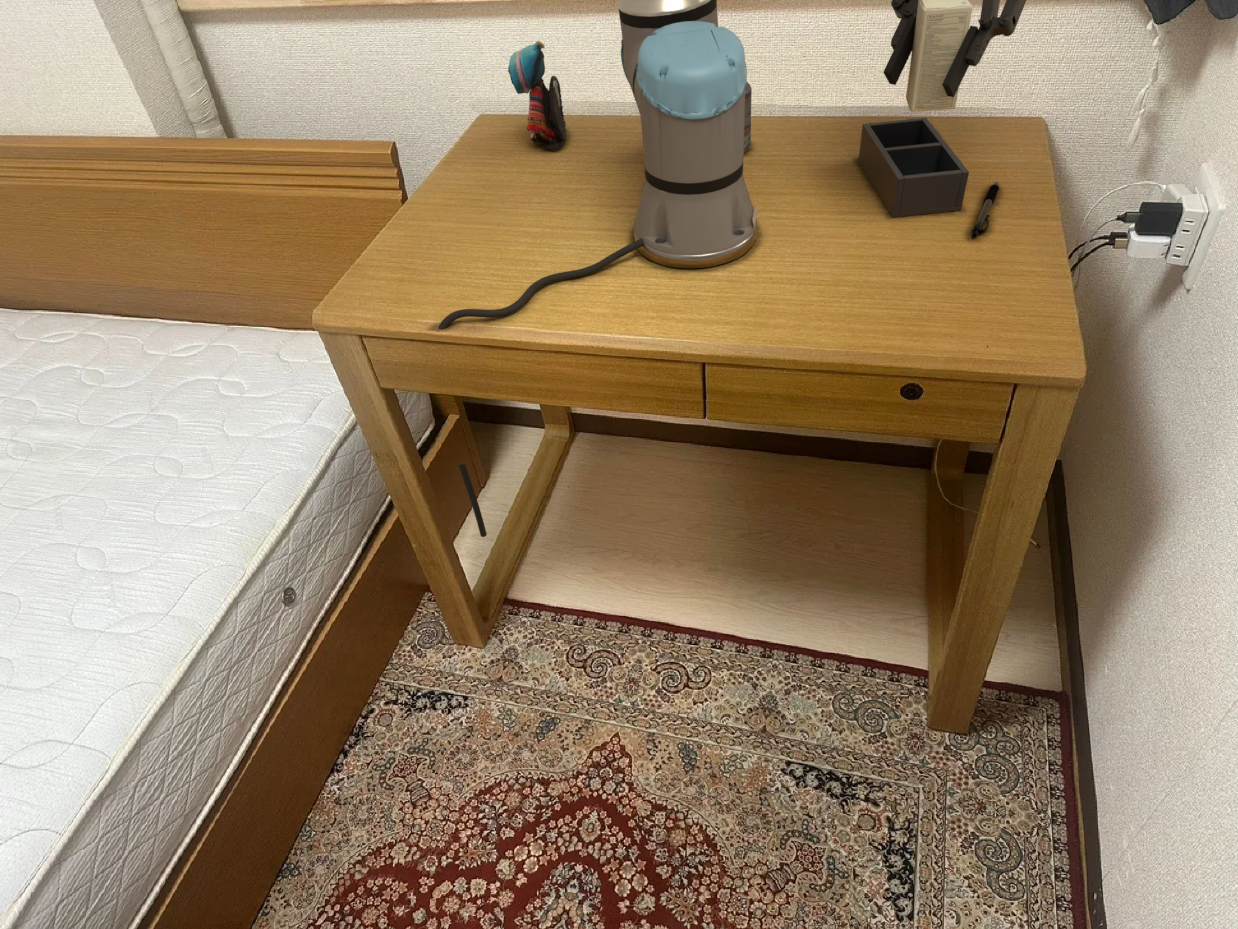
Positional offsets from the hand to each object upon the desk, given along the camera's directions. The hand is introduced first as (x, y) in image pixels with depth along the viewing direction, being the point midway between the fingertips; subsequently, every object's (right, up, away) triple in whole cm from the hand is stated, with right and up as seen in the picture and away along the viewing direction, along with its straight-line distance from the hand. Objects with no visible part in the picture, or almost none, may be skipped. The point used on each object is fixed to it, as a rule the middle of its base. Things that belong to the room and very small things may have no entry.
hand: (918, 84), depth 95 cm
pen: (+12, -11, +11) cm, 20 cm away
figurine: (-45, +7, +36) cm, 58 cm away
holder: (+5, -5, +17) cm, 19 cm away
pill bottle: (-17, +4, +29) cm, 34 cm away
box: (+3, -1, +4) cm, 5 cm away
